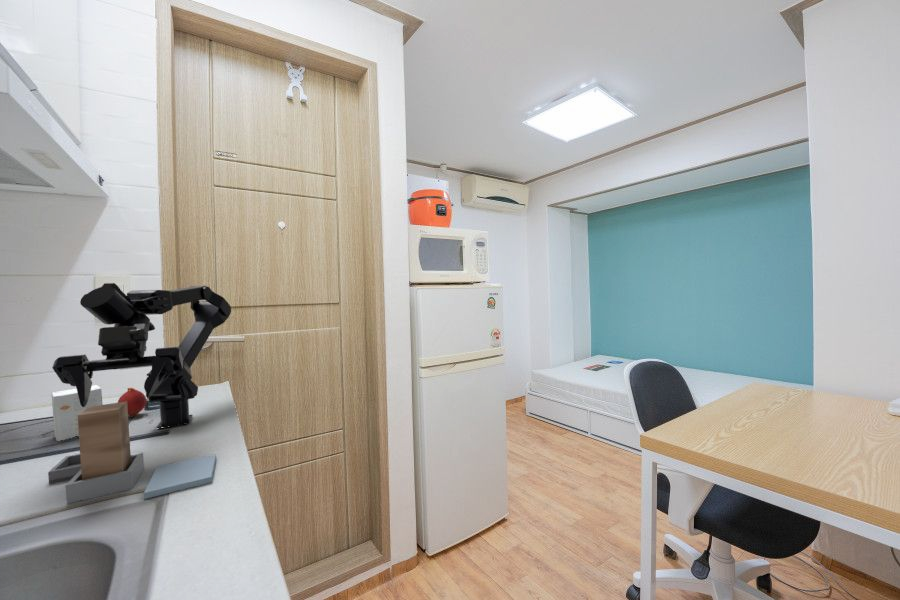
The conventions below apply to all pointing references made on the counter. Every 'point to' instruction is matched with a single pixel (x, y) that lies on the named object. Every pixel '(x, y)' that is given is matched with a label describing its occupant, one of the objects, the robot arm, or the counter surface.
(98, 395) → the small box
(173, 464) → the pad
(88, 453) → the walnut block
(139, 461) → the sleeve
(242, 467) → the counter surface
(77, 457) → the tray
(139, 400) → the onion
